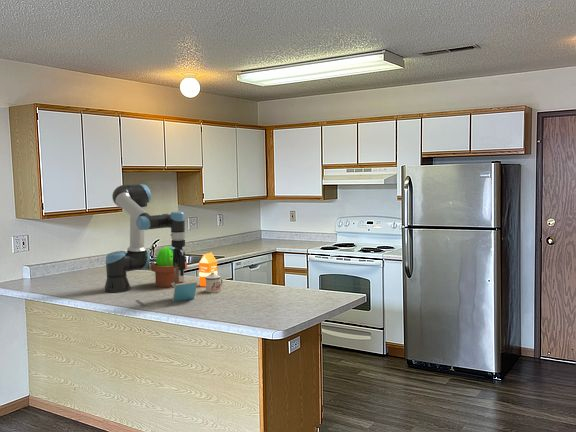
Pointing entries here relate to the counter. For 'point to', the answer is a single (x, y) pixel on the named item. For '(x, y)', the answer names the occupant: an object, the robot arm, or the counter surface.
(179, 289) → the ceramic tile
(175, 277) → the steel trowel
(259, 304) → the counter surface
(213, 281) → the teacup with lid
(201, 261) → the orange juice
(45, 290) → the counter surface
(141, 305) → the rubber tool mat
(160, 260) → the potted cactus
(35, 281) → the counter surface
